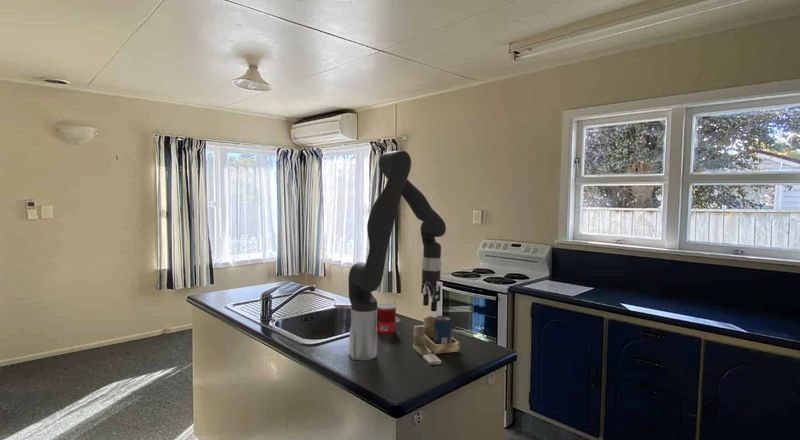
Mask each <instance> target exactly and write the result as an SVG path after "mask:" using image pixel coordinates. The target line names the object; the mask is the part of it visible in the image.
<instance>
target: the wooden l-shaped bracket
mask: <svg viewBox="0 0 800 440" xmlns="http://www.w3.org/2000/svg"><path fill="white" fill-rule="evenodd" d="M424 334H425V326H424V324H422V325H414V326H413V345H412V348H413V349H414V350H415V351H416V352H417V353H418V354H419V355H420V357H421V356H422V359H423V360H424V361H425V362H426V363H427V364H428V365H429V366H433V365H441V364H442V360H441V359H440V358H439V357H438V356H437V354H434V353H433V352H432V351H431V350H430V349H429V348H428V347H427V346H426V345H425V344H424Z"/></svg>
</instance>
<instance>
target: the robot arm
mask: <svg viewBox="0 0 800 440" xmlns="http://www.w3.org/2000/svg"><path fill="white" fill-rule="evenodd" d="M378 167H379V169H380V171H381V173H382V174H383V175H384V176H385V178H386V179H387V180H386V181H387V182H386V185H385V186H384V189H383V190H382V192H381V193H380V194H379V195H378V197H377V198H376V199H375V201H374V203H373V204H372V206H371V209H370V212H369V216H368V220H367V224H366V231H367V237H368V243H369V244H368V245H369V249H368V254H367V259H366V262H361V261H359V262H356V263H355V264H353V265H352V266H351V268H350V270H349V271H348V300H349V302H350V309H351V310H350V327H349V335H348V336H349V342H348V343H349V345H348V348H349V350H348V353H349V356H350V358H351V360H353V361H357V360H358V361H370V360H373V359H375V358H376V357H377V352H378V351H377V350H378V349H377V341H378V340H377V337H378V336H377V335H378V332H377V305H378V300H377V299H376V298H375V296H374V295H373V293H372V292H375V291H377V289H379V287H380V286H381V284H382V281H383V279H384V271H385V264H386V258H387V252H388V249H389V243H390V239H391V236H392V232H393V228H394V225H395V221H396V217H397V213H398V208H399V205H400V201H401V198H403V199H404V200H405V202H406V203H407V205H408V206H409V208H410V209H411V211H412V213H413V214H414V215H415V217H416V219H418V220H419V221H422V222H421V225H420V235H421V242H422V244H423V253H422V255H423V256H422V261H421V262H422V263H421V264H422V265H421V289H420V291H421V292H420V294H421V295H422V299H423V300H422V306H425V307H427V306H429V305H430V311H431V312H437V309H438V302H440V301H441V286H440V285H438V284H437V282H439V281H441V272H442V268H441V267H442V258H441V257H442V244H441V243H439V242H437V240H436V238H440V237H443V236H444V235H445V233H446V232H447V226H446V223H445V221H444V220H443V218H442V217H441V216H440V214H438V213H437V212H436V210H434V209H433V208H432V206H431V204H430V203H429V201H428V200H427V198H426V197H425V195H424V194H423V193H422V192H421V190H419V189H418V188H417V187H416V186H415V185H413V183H412V182H411V181H410V180H409V179H408V178H409V174H410V172H411V167H412V159H411V156H410V154H409V153H408V151H405V150H393V151H387V152H384V153H383V154H381V156H379V158H378ZM430 302H431V304H430Z"/></svg>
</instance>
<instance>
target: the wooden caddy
mask: <svg viewBox="0 0 800 440" xmlns="http://www.w3.org/2000/svg"><path fill="white" fill-rule="evenodd" d="M436 317H437V316H436V315H431V316H429V315H427V316H423V325H424V326H425V334H424V345H425V346H426V347H427V348H428V349H429V350H430V351H431V352H432V354H434V355H437V354H446V353H453V352H454V353H456V352H460V344H461V343H460V342H459V341H458V340H457V339H456V338H454V337H453V336H452V343H445V344H435V343H434V342H433V340H432V339H433V332H434V320H435V318H436Z"/></svg>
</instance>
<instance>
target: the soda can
mask: <svg viewBox="0 0 800 440" xmlns="http://www.w3.org/2000/svg"><path fill="white" fill-rule="evenodd" d="M452 337H453V322H452V318H451V317H450V316H447V315H437V316H436V318H435V320H434V332H433V338H432V339H433V340H432V342H434V343H435V344H445V343H452Z"/></svg>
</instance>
